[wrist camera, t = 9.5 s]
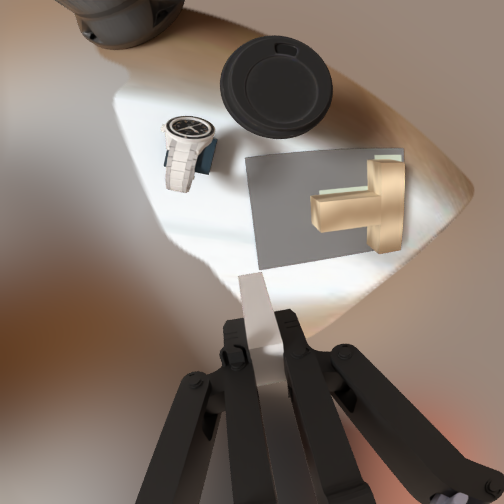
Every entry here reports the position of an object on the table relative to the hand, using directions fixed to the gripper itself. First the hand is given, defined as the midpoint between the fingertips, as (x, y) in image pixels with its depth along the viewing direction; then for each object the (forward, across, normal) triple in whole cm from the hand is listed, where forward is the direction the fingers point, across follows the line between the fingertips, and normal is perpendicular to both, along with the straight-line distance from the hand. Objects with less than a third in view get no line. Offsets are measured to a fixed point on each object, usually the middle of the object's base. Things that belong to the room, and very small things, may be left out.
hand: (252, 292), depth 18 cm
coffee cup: (+22, +5, +13) cm, 26 cm away
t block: (+21, +17, -2) cm, 27 cm away
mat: (+21, +14, -2) cm, 25 cm away
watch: (+21, -4, +8) cm, 23 cm away
